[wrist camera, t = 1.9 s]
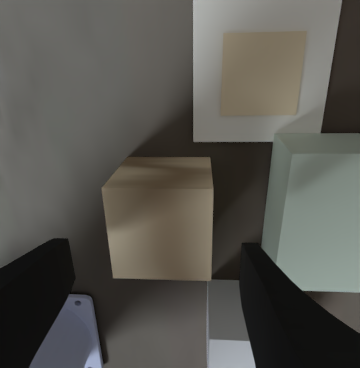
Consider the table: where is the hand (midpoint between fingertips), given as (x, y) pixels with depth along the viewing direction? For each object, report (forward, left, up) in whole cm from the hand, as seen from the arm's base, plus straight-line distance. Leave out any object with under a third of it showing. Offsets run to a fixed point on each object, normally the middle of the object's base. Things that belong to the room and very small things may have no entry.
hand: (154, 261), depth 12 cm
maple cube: (0, 0, -7) cm, 7 cm away
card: (+5, +7, -7) cm, 11 cm away
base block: (+10, 0, -7) cm, 12 cm away
